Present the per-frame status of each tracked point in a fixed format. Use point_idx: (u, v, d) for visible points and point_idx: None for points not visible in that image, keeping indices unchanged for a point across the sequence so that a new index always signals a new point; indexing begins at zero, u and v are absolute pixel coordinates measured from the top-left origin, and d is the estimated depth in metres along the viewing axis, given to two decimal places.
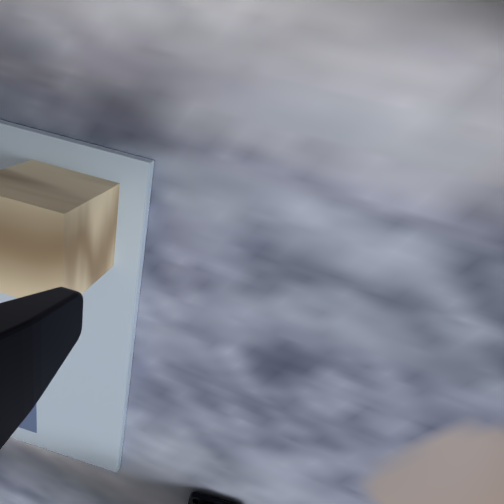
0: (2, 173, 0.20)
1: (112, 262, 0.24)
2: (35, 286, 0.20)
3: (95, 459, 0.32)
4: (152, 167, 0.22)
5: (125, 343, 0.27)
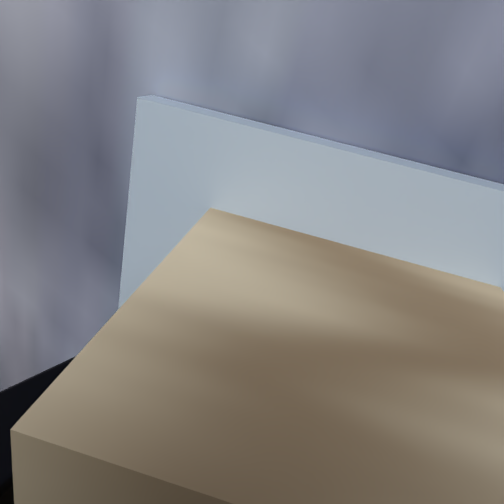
0: None
1: (486, 286, 0.07)
2: None
3: None
4: (164, 100, 0.07)
5: None
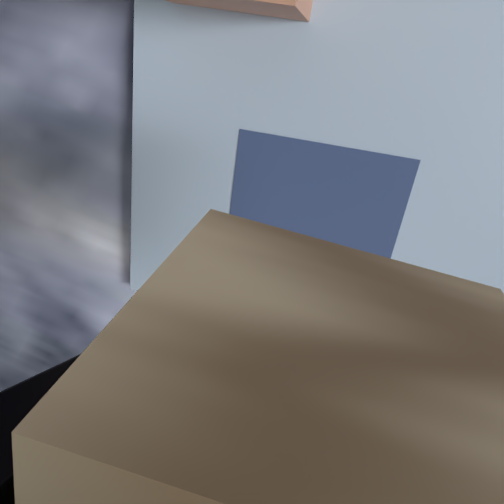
0: None
1: (486, 288, 0.07)
2: None
3: None
4: None
5: None
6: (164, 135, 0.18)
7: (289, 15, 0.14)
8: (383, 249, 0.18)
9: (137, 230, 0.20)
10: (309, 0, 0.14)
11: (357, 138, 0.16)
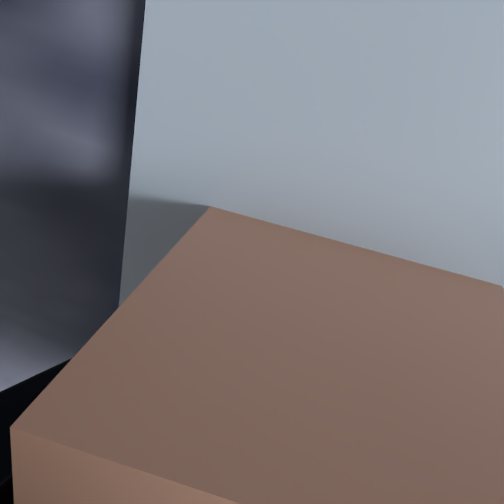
0: None
1: None
2: None
3: None
4: None
5: None
6: None
7: None
8: None
9: None
10: None
11: None
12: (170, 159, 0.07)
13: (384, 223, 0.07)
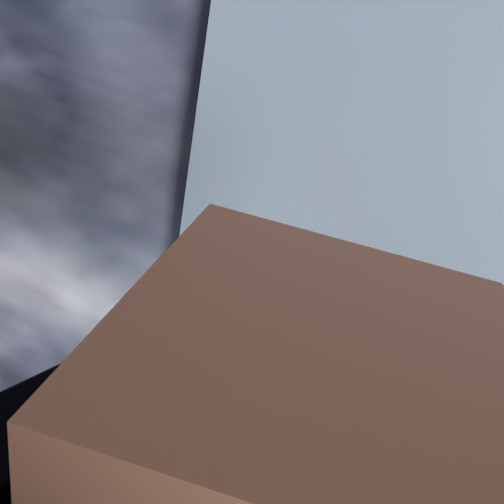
0: None
1: None
2: None
3: None
4: None
5: None
6: None
7: None
8: None
9: None
10: None
11: None
12: None
13: (340, 7, 0.14)
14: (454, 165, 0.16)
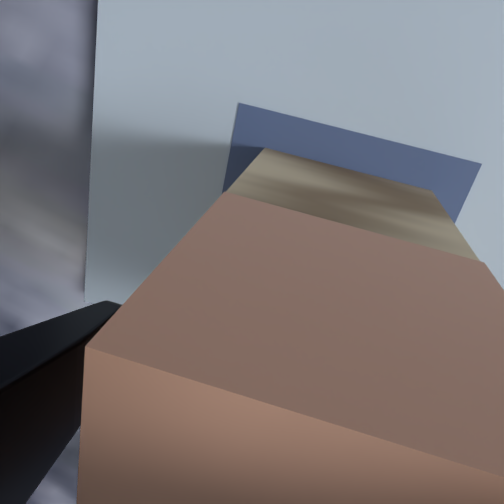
0: None
1: (422, 189, 0.12)
2: None
3: None
4: None
5: None
6: (136, 103, 0.13)
7: None
8: None
9: (95, 228, 0.15)
10: None
11: (399, 127, 0.12)
12: None
13: None
14: None
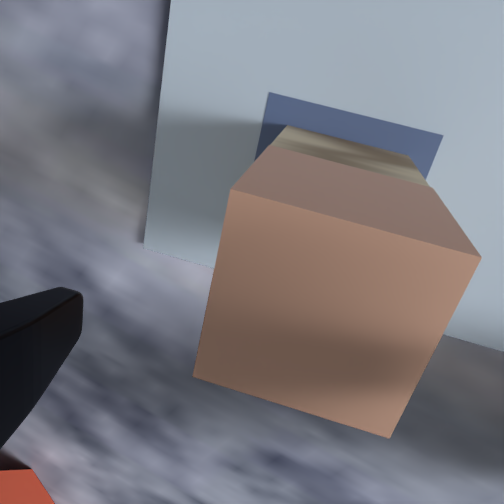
0: None
1: (402, 154, 0.17)
2: None
3: (478, 330, 0.20)
4: None
5: None
6: (193, 92, 0.18)
7: None
8: None
9: (156, 188, 0.20)
10: None
11: (384, 109, 0.17)
12: None
13: None
14: None
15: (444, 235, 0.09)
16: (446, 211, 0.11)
